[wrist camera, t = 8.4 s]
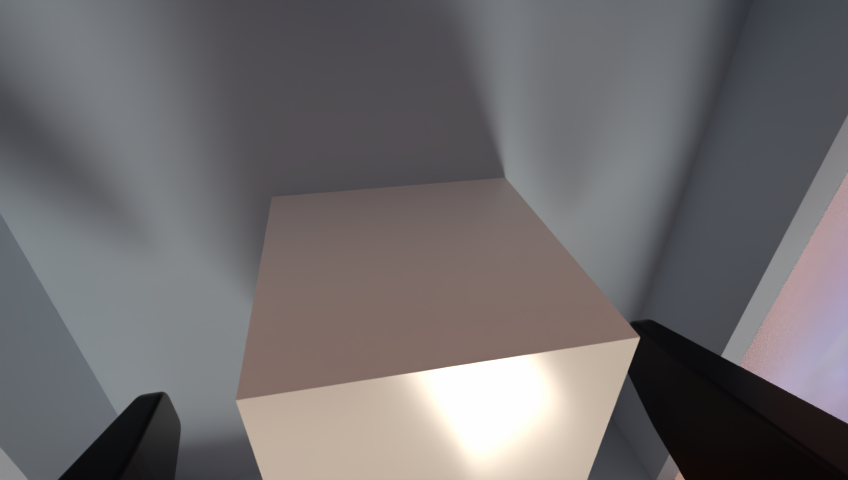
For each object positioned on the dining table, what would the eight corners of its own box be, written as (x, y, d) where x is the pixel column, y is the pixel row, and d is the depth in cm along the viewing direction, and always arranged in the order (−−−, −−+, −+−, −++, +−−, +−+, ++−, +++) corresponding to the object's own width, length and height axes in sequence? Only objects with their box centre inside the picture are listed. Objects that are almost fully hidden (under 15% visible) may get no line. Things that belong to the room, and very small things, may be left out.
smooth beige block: (486, 339, 13) (569, 526, 8) (305, 366, 12) (300, 589, 8) (505, 177, 10) (640, 336, 6) (272, 196, 9) (236, 400, 5)
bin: (607, 399, 17) (667, 491, 14) (152, 482, 14) (110, 616, 11) (781, -89, 9) (1006, -109, 6) (-203, -117, 6) (-665, -178, 3)
